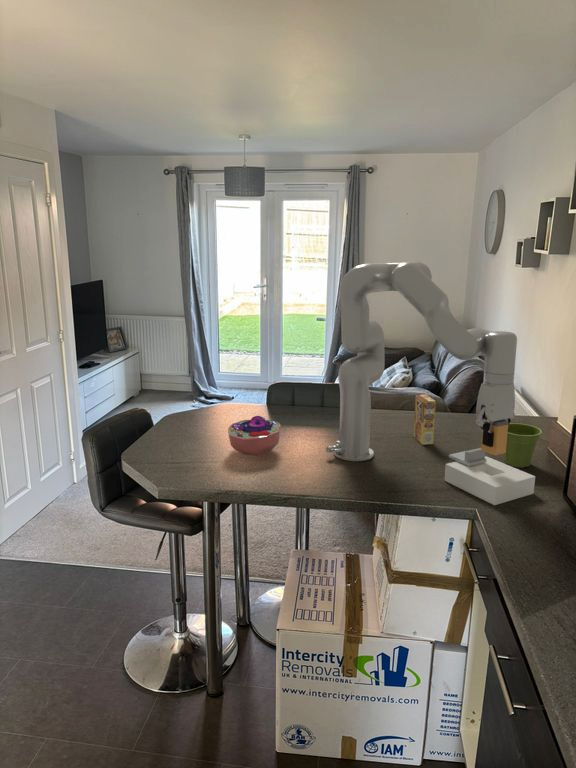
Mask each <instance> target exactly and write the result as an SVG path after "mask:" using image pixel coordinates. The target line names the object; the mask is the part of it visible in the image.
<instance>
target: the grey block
mask: <svg viewBox="0 0 576 768" xmlns="http://www.w3.org/2000/svg"><path fill="white" fill-rule="evenodd" d="M485 456H486V452H485V451H482V450H481V447H478V448H474V449H473V448H472V449H470V450H464V451H460V452H455V453H451V454H448V458H450V459H452V460H454V461H455V462H457V461H458V462H461V463H463V464H465V465H467V466H472V465H476V464H480V463H484V462H487V459H485Z"/></svg>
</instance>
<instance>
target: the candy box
mask: <svg viewBox="0 0 576 768" xmlns="http://www.w3.org/2000/svg"><path fill="white" fill-rule="evenodd" d="M414 403H415V404H414V421H413V422H414V424H413V425H414V426H413V427H414V428H413V437H414V438H415V439H416V441H418V442H419V443H420V444H421V445H423V446H424V445H425V446H426V445H434V441H435V440H434V438H435V437H434V436H435V421H436V419H435V418H436V404H437V402H436V400H435V399H433V398H432V397H430V396H429V395H428V394H416V395H415V402H414Z"/></svg>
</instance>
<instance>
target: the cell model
mask: <svg viewBox="0 0 576 768" xmlns="http://www.w3.org/2000/svg"><path fill="white" fill-rule="evenodd" d="M280 432H281V423H280V422H278V421H274V420H270V419H269V420H268V419H266V418H265V417H263V416H261V415H255V416H252V417H251V419H244V420H239V421H238V422H237V421H236V422H234V423H231V424H230V425H229V427H228V429H227V434H228V435H227V436H228V439H229V442H230V446H231V447H232V449H233V450H235V451H237V452H238V453H240V454H241V455H245V456H255V457H256V456H257V457H259V456H262V455H263V454H266V453H267V452H268V453H269V452H270V451H272V450H273V449H274V448H275V447H277V445H279V441H280V434H281V433H280Z"/></svg>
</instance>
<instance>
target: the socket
mask: <svg viewBox="0 0 576 768" xmlns="http://www.w3.org/2000/svg"><path fill="white" fill-rule="evenodd" d="M485 459H487V462H484V463H480V464H476V465H472V466H467V465H465V464H463V463H461V462H458V461H454V462H453V461H452V462H448V463H445V470H444V481H445V482H447V483H448V484H451V485H453V486H454V487H457V488H458V489H461V490H463V491H465V492H467V493H468V494H471V495H473V496H475V497H477V498H479V499H481V500H483V501H485V502H487V503H489V504H491V505H493V506H496V505H499V504H503V503H506V502H511V501H513V500H517V499H520V498H524V497H527V496H531V495H533V494H535V493H534V492H535V482H536V476H535V475H533V474H531V473H528V472H526V471H523V470H520V469H519V468H517V467H513V466H510V465H509V464H506V463H505V462H501V461H499V460H496V459H494V458H491V457H489V456H486V455H485Z"/></svg>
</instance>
